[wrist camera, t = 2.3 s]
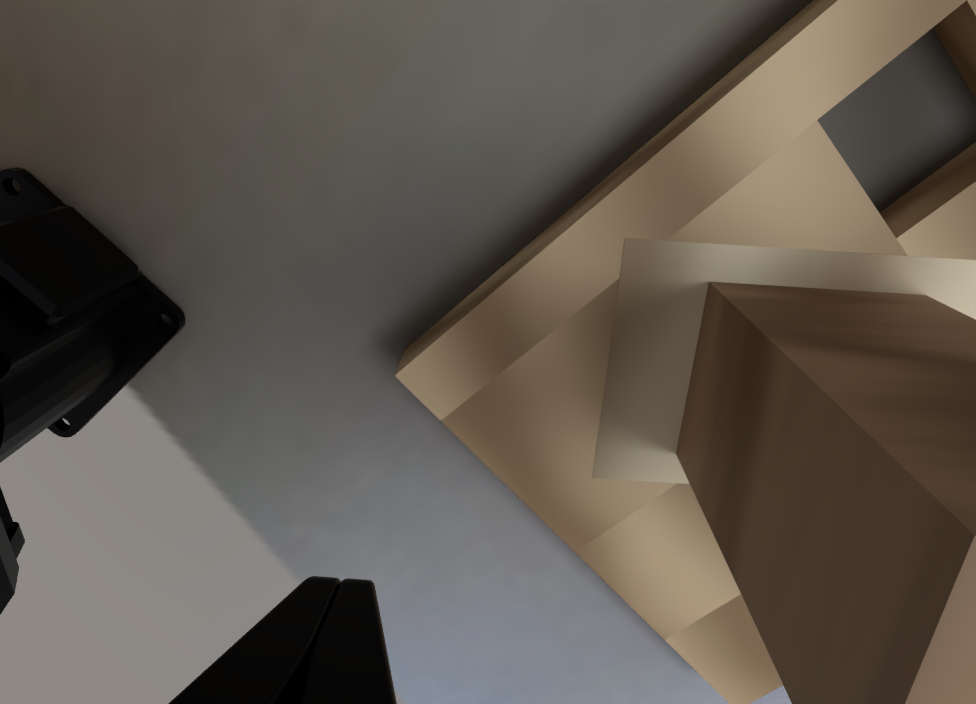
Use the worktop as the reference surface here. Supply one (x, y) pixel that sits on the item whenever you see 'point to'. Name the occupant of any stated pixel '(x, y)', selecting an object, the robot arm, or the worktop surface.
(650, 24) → the worktop surface
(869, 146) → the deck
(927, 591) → the walnut box
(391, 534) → the worktop surface
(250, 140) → the worktop surface
